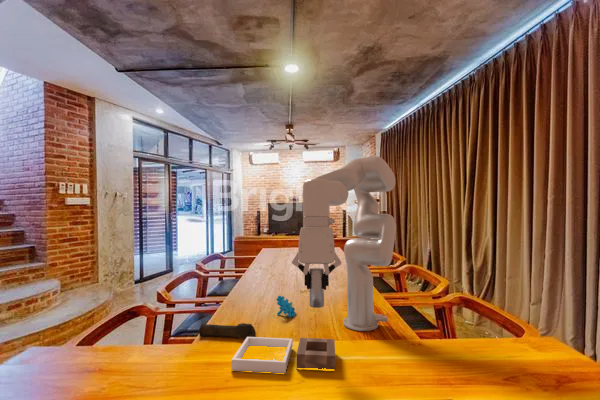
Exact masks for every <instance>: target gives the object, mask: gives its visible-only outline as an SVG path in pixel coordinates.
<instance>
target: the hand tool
mask: <svg viewBox="0 0 600 400" xmlns="http://www.w3.org/2000/svg"><path fill="white" fill-rule="evenodd" d="M198 332H199V333H198V335H199V337H202V336H203V337H207V336H209V337H210V336H213V337H233V338H237V340H245V339H246V338H247V337H257V333H256V328H255V326H254V325H253V324H251V323H245V322H242V323H238V324H237V325H223V324H222V325H221V324H207V323H205V322H204V323H201V324H200V326H199V329H198Z"/></svg>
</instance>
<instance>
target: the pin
mask: <svg viewBox="0 0 600 400" xmlns="http://www.w3.org/2000/svg"><path fill="white" fill-rule="evenodd" d="M308 271H309V273H310V289H309V307H310V308H315V309H318V308H319V309H320V308H324V306H325V290H324V282H323V275H324V271H325V269H324V267H323V268H322V267H311V268H310V267H309V270H308Z"/></svg>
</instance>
